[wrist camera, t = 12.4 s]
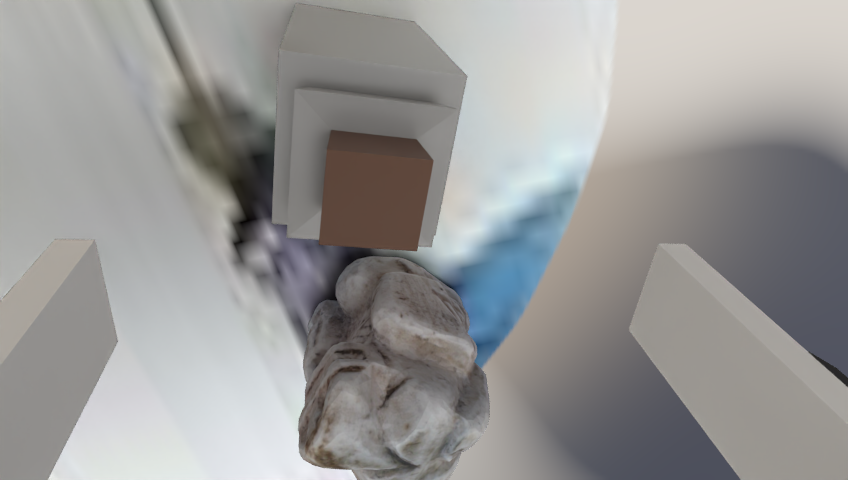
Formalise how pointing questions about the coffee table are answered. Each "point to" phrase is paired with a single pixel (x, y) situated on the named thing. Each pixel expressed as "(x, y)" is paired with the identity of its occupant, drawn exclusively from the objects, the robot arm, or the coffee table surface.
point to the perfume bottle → (362, 129)
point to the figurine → (391, 376)
